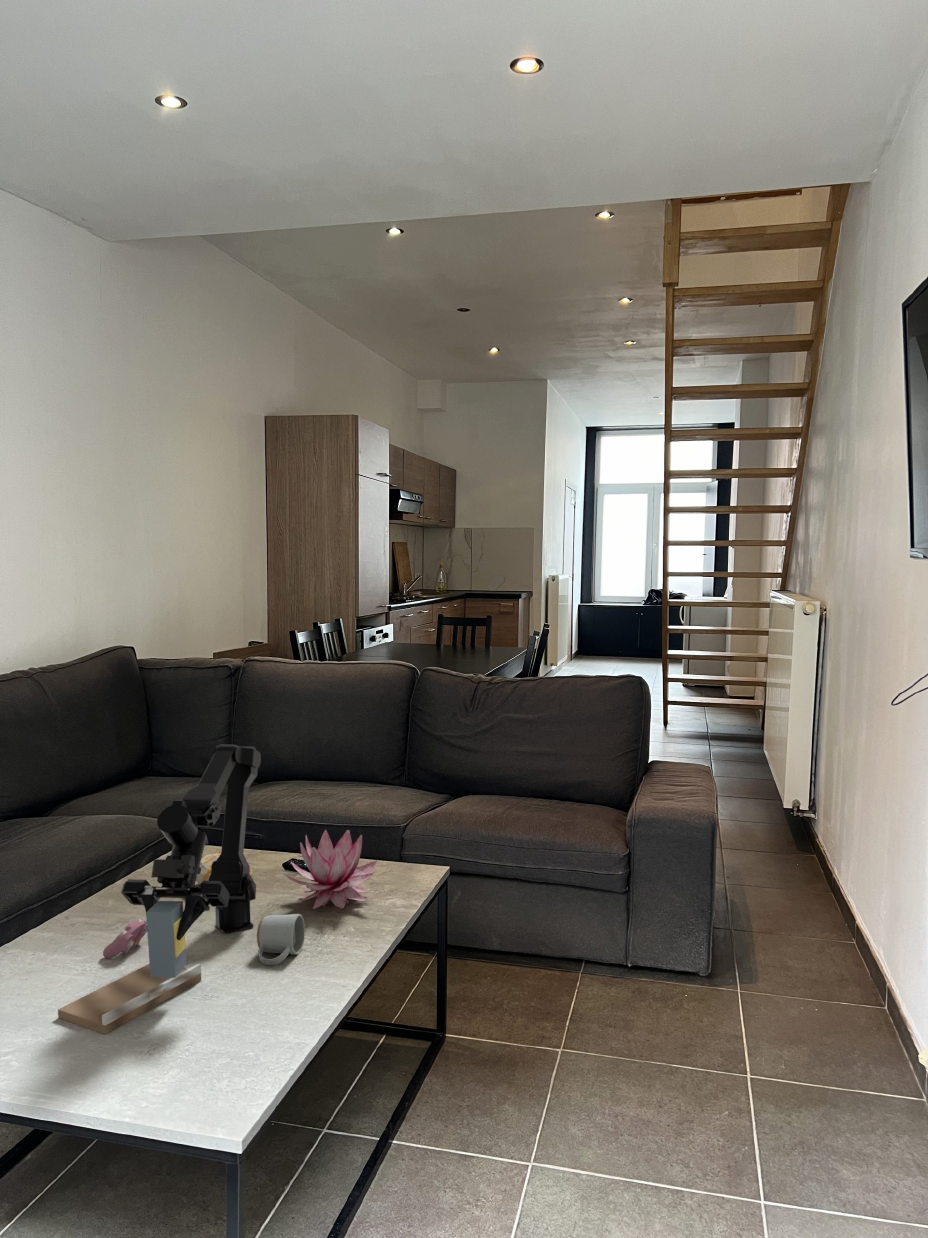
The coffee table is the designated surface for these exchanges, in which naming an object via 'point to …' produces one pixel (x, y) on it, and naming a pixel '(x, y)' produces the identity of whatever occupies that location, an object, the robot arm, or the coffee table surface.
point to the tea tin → (165, 939)
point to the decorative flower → (334, 870)
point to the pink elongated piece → (126, 939)
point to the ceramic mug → (280, 936)
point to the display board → (126, 998)
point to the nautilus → (209, 867)
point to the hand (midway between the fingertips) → (163, 939)
